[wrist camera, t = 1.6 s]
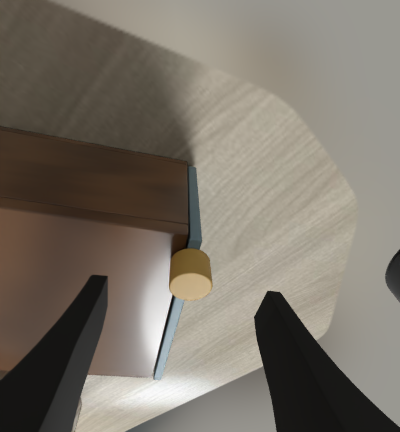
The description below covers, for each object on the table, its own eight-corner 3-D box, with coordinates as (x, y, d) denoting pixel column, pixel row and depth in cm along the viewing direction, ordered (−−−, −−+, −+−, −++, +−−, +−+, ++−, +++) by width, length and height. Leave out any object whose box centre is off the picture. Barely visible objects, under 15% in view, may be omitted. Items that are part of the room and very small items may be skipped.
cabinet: (187, 161, 19) (188, 234, 13) (160, 291, 28) (152, 378, 21) (-21, 122, 17) (-157, 184, 10) (16, 276, 25) (-46, 368, 18)
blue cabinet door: (205, 168, 20) (220, 267, 12) (173, 294, 28) (168, 404, 20) (178, 163, 19) (174, 261, 11) (154, 292, 27) (141, 403, 19)
